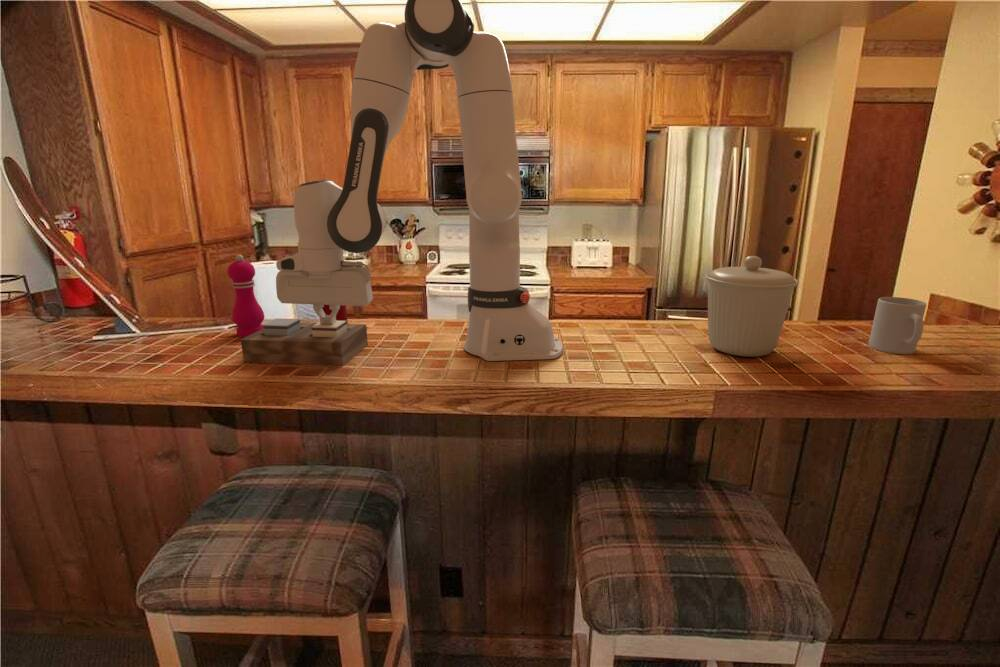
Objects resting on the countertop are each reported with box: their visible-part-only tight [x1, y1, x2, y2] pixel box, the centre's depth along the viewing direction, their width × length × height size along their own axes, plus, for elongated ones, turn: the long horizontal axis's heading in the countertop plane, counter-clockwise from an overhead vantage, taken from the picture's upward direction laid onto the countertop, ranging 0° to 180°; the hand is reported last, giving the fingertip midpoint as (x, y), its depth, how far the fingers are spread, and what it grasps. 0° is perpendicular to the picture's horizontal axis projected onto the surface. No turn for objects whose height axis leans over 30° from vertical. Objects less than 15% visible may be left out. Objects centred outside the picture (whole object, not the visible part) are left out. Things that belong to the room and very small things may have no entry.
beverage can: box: [322, 305, 349, 324], centre depth 130 cm, size 7×7×12 cm
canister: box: [704, 255, 800, 358], centre depth 109 cm, size 18×18×21 cm
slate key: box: [262, 318, 301, 336], centre depth 111 cm, size 6×6×5 cm
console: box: [240, 322, 369, 367], centre depth 111 cm, size 22×14×5 cm, turn 83°
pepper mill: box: [227, 254, 265, 338], centre depth 124 cm, size 7×7×20 cm
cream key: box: [311, 321, 348, 338], centre depth 110 cm, size 6×6×5 cm
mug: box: [868, 296, 927, 355], centre depth 110 cm, size 12×8×11 cm
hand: (328, 323), depth 109 cm, fingers closed, pressing on cream key
